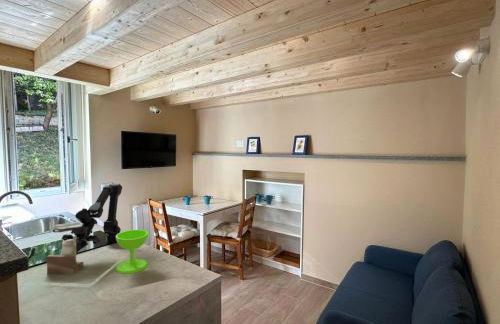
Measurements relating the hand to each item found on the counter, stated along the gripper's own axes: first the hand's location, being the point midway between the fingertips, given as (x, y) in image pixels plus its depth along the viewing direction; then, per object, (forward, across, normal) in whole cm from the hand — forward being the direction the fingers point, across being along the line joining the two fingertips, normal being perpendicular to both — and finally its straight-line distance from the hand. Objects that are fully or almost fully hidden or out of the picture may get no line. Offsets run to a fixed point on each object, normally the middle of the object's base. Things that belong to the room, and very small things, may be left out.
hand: (73, 254), depth 138 cm
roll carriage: (+6, 0, +2) cm, 7 cm away
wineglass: (+3, +30, +8) cm, 31 cm away
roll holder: (+6, 0, +4) cm, 7 cm away
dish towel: (-39, -51, +50) cm, 81 cm away
